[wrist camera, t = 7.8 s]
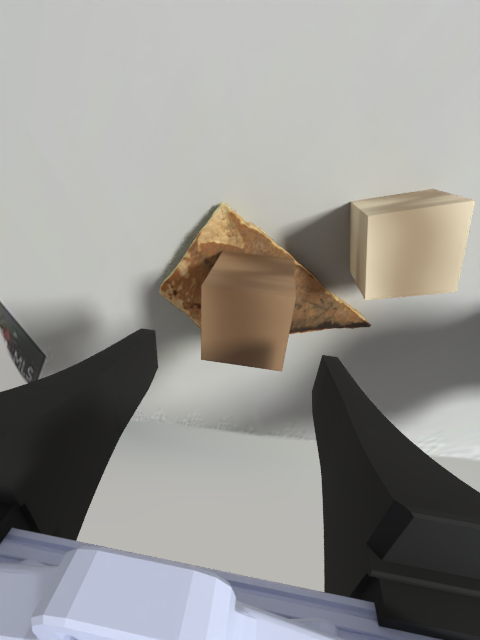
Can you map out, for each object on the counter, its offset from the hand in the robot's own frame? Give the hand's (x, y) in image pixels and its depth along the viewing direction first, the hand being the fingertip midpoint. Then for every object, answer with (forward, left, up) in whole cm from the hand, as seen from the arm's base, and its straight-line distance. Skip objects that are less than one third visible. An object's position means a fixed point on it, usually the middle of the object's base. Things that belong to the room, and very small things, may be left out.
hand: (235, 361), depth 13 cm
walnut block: (0, 0, -8) cm, 8 cm away
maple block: (-8, -4, -10) cm, 13 cm away
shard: (0, 0, -11) cm, 11 cm away
